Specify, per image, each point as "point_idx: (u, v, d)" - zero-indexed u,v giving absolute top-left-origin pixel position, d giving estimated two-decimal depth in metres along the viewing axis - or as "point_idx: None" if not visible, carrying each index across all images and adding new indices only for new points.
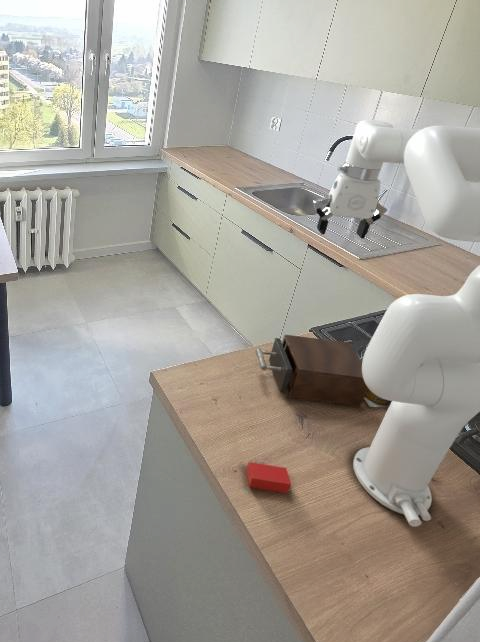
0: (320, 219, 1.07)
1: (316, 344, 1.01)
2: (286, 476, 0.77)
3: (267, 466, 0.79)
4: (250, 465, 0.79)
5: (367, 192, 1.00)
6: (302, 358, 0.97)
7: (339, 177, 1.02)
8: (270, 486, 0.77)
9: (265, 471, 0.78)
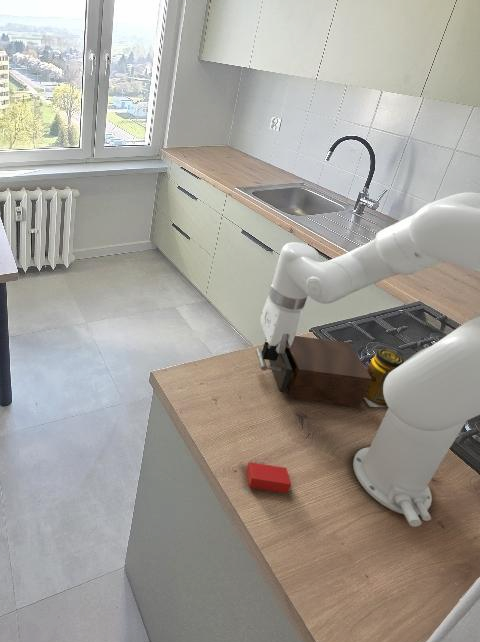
0: None
1: (316, 344, 1.01)
2: (286, 476, 0.77)
3: (267, 466, 0.79)
4: (250, 465, 0.79)
5: (272, 313, 0.94)
6: (302, 358, 0.97)
7: None
8: (270, 486, 0.77)
9: (265, 471, 0.78)
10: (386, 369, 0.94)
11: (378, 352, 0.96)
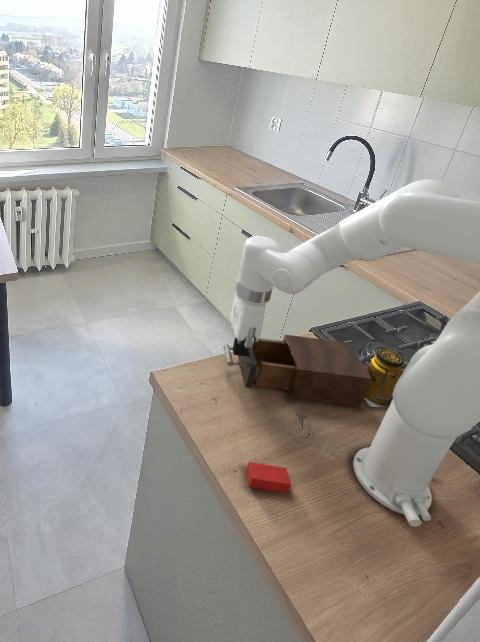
0: None
1: (316, 344, 1.01)
2: (286, 476, 0.77)
3: (267, 466, 0.79)
4: (250, 465, 0.79)
5: (239, 307, 0.94)
6: (302, 358, 0.97)
7: None
8: (270, 486, 0.77)
9: (265, 471, 0.78)
10: (386, 369, 0.94)
11: (378, 352, 0.96)
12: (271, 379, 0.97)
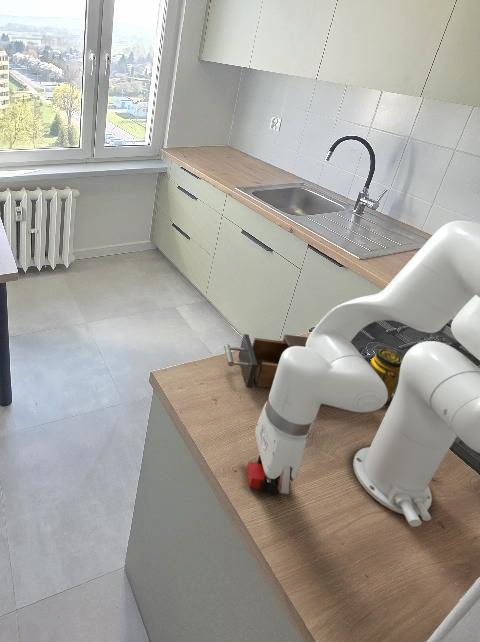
0: None
1: None
2: None
3: None
4: (250, 465, 0.79)
5: (269, 435, 0.72)
6: None
7: None
8: None
9: None
10: (386, 369, 0.94)
11: (378, 352, 0.96)
12: (272, 379, 0.97)
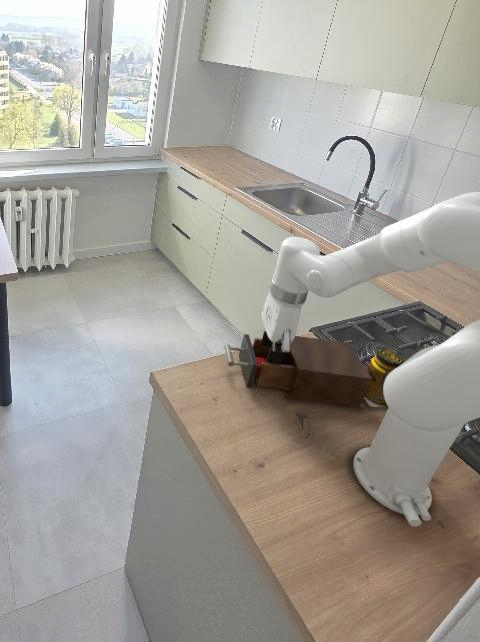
0: None
1: (316, 344, 1.01)
2: None
3: (266, 359, 1.02)
4: None
5: (273, 309, 0.93)
6: (302, 358, 0.97)
7: None
8: None
9: None
10: (386, 369, 0.94)
11: (378, 352, 0.96)
12: (272, 379, 0.97)
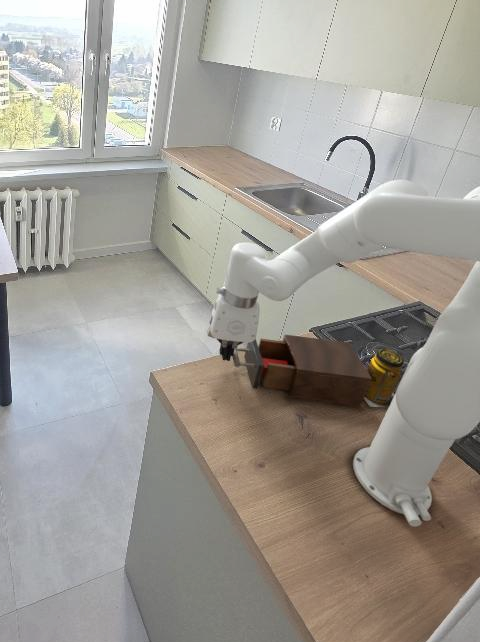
0: (221, 344, 1.01)
1: (316, 344, 1.01)
2: None
3: (272, 360, 1.02)
4: None
5: (245, 318, 0.94)
6: (302, 358, 0.97)
7: (218, 299, 0.96)
8: None
9: (270, 362, 1.01)
10: (386, 369, 0.94)
11: (378, 352, 0.96)
12: (278, 380, 0.97)
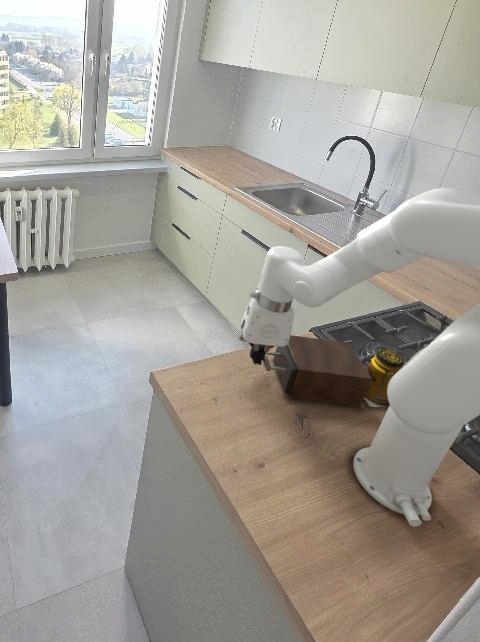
0: (252, 348, 1.00)
1: (316, 344, 1.01)
2: None
3: None
4: None
5: (279, 322, 0.93)
6: (302, 358, 0.97)
7: (251, 303, 0.95)
8: None
9: None
10: (386, 369, 0.94)
11: (378, 352, 0.96)
12: None
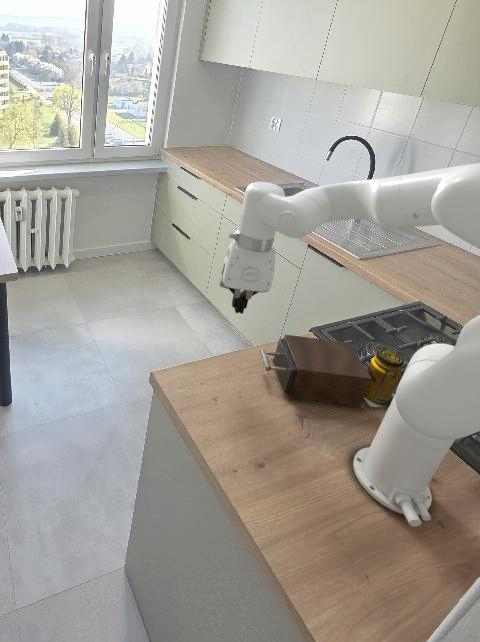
0: (234, 296, 0.95)
1: (316, 344, 1.01)
2: None
3: None
4: None
5: (260, 263, 0.88)
6: (302, 358, 0.97)
7: (231, 245, 0.90)
8: None
9: None
10: (386, 369, 0.94)
11: (378, 352, 0.96)
12: None
